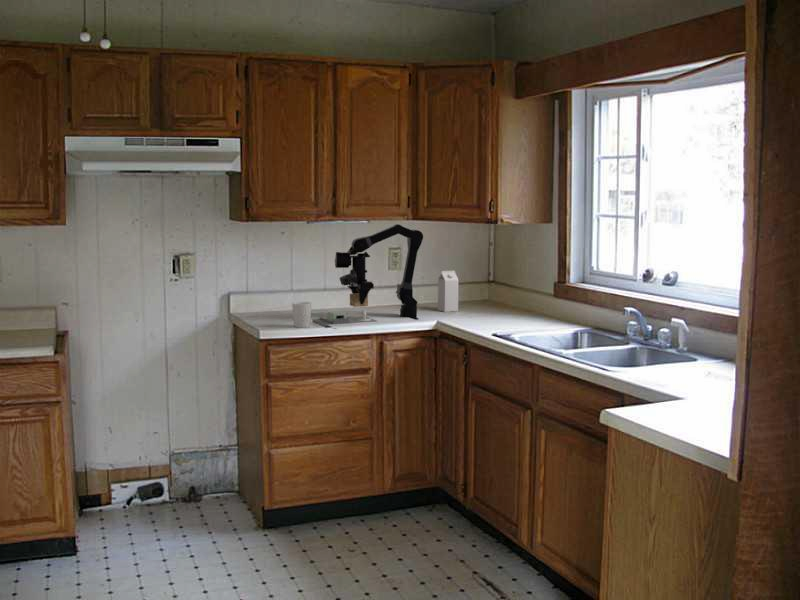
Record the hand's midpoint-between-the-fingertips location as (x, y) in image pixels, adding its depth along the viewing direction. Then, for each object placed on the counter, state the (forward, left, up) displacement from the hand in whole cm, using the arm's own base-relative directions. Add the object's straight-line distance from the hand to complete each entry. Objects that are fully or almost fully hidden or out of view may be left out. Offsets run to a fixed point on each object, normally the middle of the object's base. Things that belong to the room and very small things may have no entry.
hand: (358, 303), depth 389 cm
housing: (+13, +8, -6) cm, 16 cm away
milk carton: (-50, -9, -8) cm, 51 cm away
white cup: (+28, +6, -8) cm, 30 cm away
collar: (0, 0, -1) cm, 1 cm away
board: (+8, +5, -8) cm, 12 cm away
